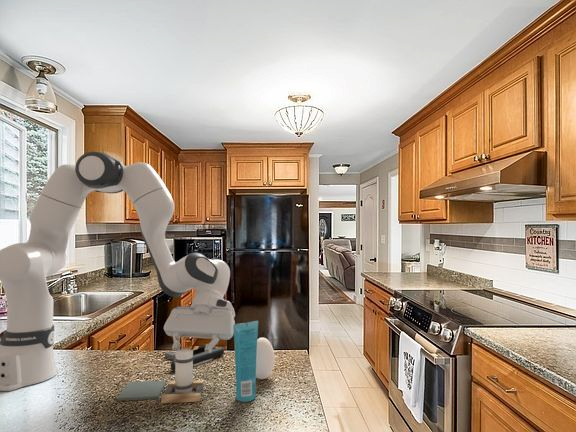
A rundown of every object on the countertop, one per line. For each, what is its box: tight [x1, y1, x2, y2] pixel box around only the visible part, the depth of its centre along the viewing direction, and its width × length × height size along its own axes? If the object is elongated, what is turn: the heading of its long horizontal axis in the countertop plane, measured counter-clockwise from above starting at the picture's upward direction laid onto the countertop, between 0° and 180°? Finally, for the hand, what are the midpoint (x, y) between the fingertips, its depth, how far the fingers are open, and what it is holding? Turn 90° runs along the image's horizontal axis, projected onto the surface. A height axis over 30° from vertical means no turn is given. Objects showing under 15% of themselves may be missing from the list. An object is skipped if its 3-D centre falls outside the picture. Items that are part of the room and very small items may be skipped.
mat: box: [116, 380, 167, 402], centre depth 98 cm, size 10×10×1 cm
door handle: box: [164, 344, 225, 372], centre depth 123 cm, size 3×20×16 cm
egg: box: [256, 337, 276, 380], centre depth 107 cm, size 7×7×12 cm
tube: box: [233, 320, 259, 403], centre depth 95 cm, size 7×5×19 cm, turn 133°
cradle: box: [160, 379, 205, 404], centre depth 97 cm, size 9×9×2 cm
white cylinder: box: [174, 348, 194, 394], centre depth 97 cm, size 5×5×11 cm
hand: (191, 350), depth 101 cm, fingers open, 8 cm apart
